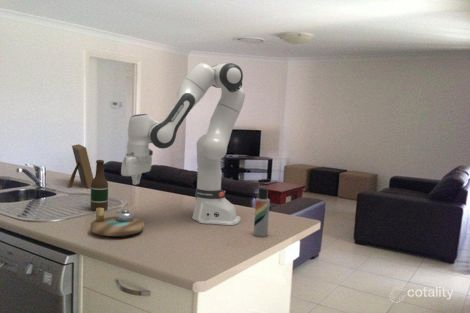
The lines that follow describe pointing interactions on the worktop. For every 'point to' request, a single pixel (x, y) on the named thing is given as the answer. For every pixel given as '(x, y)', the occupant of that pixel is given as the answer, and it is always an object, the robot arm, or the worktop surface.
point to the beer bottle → (99, 188)
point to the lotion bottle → (261, 213)
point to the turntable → (114, 225)
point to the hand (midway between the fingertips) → (135, 184)
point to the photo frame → (81, 166)
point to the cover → (124, 215)
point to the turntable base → (117, 236)
